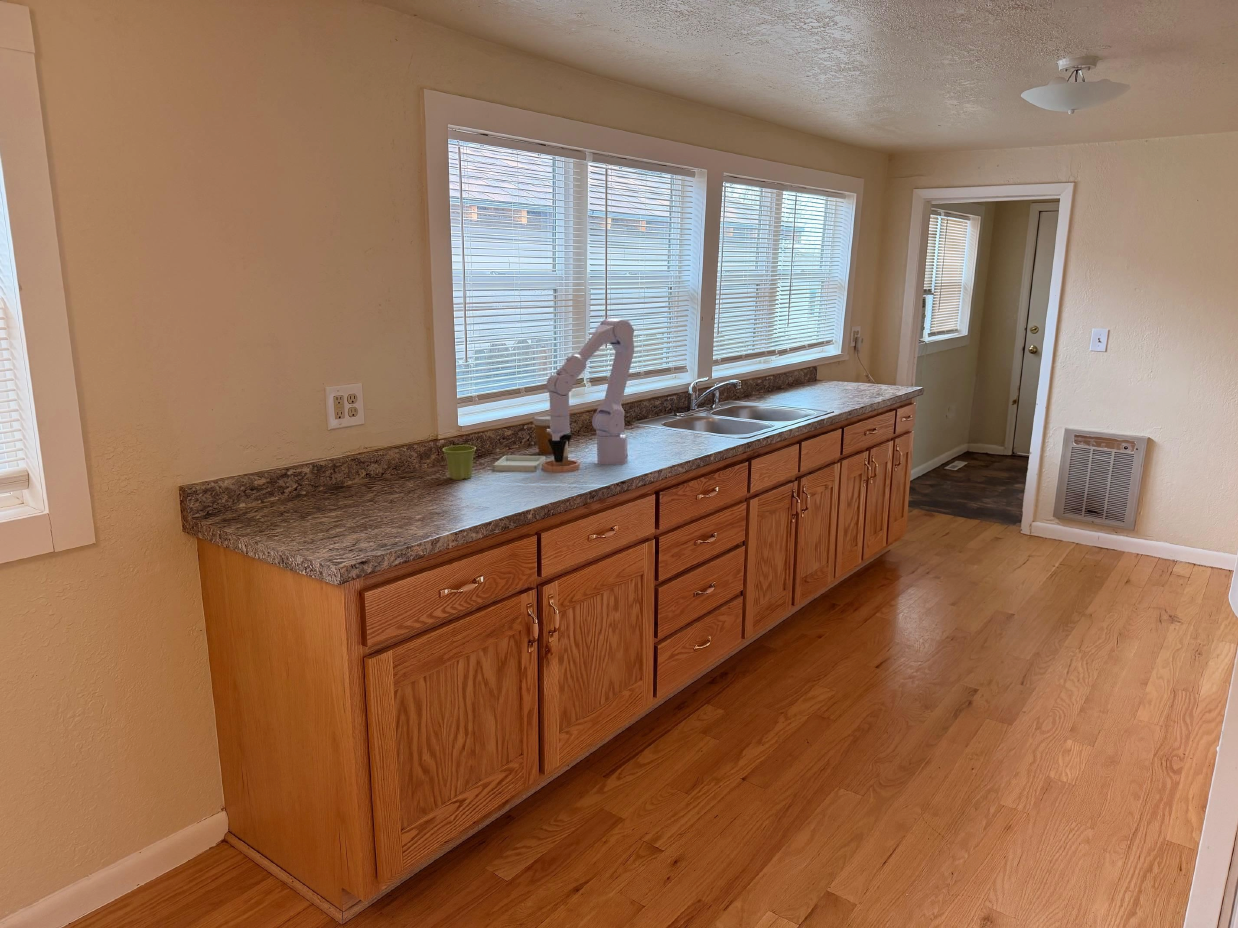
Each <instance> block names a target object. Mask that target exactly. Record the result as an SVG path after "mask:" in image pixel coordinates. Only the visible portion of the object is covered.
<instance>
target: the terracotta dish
mask: <svg viewBox="0 0 1238 928" xmlns="http://www.w3.org/2000/svg"><path fill="white" fill-rule="evenodd" d="M580 468H581V463H580V461H578V460H574V459H569V458H568V466H554V461H553V459H550V460H546V461H545V462H543V463H542V466H541V470H543V471H545V472H548V473H549V472H550V473H565V472H566V473H567V472H568V473H569V472H575V471H578V470H579V469H580Z"/></svg>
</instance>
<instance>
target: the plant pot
mask: <svg viewBox="0 0 1238 928" xmlns="http://www.w3.org/2000/svg"><path fill="white" fill-rule="evenodd" d="M476 449H477V447H476V446H474V445H466V444H465V445H463V444H462V445H461V444H460V445H450V446H446V447H443V448H442V452H443V454H444V457H445V459H446V465H447V468H448V474H449V478H450V479H452V480H455V481H456V480H457V481H462V480H463V479H466V480H467V479H471V478H472V474H473V461H474V455H475V451H476Z"/></svg>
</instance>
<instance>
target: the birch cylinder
mask: <svg viewBox="0 0 1238 928" xmlns="http://www.w3.org/2000/svg"><path fill="white" fill-rule="evenodd" d="M552 456H553V455H552ZM568 459H569V446H568V441H567V443H566V445H565V449H564V457H563V462H562V463H561V462H555V460H554V456H553V459H552V460H553V461H554V466H568Z"/></svg>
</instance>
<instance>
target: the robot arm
mask: <svg viewBox="0 0 1238 928" xmlns="http://www.w3.org/2000/svg"><path fill="white" fill-rule="evenodd" d="M634 334H635V328H634V327H633V325H632V324H631V322H630V321H629V320H628V319H623V318H622V319H615V318H613V319H612V318H605V319H603V320H602V321H601V322H600V324H598V325H597V326H596V328H595V330H594V332H593V333H592V335H591V336H590V338H589V339H588V340H587V342H586V343H585V344H584V345H583V346H582V348H581V349H580V350H579V352H578V353H577V354H572V355H570V356H567V357H566V358H565V362H564V363H563V364H562V366H561V367H560V368H558V369H556V371H555V372H556V373H553V374H551V375H550V376H549V377H548V378H547V381H546V383H545V384H544V385H545V388H546V391H547V392H548V397H549V415H550V429H547V432H550V433H551V434H552V438H549V439H548V443H549V444H550V446H551V448H552V451H553V455H552V456H554V460H555V462H561V463H562V462H563V457H564V449H565V445H566V443H567V441H568V447H569V446H570V442H571V439H572V437H573V433H571V428H570V427H571V426H570V393H571V392H572V390H573V387H574V383H575V381H576V380H577V379H578V378H579V377H580V375H582V373H583V372H584V371H585V370H586V369H587V361H589V360H590V359H591V358H592V357H593V356H594V354H596V352H597V351H598V350H600V348H601V347H603V346H604V345H605V344H609V345H610V346H611V347H612V348H613V350H614V352H615V353H614V358H613V361H612V366H611V368H610V369H611V370H610V374H609V377H608V378H609V379H608V383H607V387H606V391H605V395H604V400H603V401H602V403H600V404H599V406H598V407H597V410H596V412H595V414H594V415H593V417H592V423H591V424H592V428H594V430H596V432H595V433H596V460H595V461H594V463H593V464H594V465H595V464H596V465H626V464H627V462H628V460H629V458H628V457H629V453H628V435H627V434H622V432H623V431H624V429H625V414H626V413H625V410H624V408H623V407H622V403H623V398H624V396H625V390H626V386H627V382H628V378H629V373H630V369H631V365H632V361H633V357H634V353H635V343H634Z"/></svg>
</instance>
